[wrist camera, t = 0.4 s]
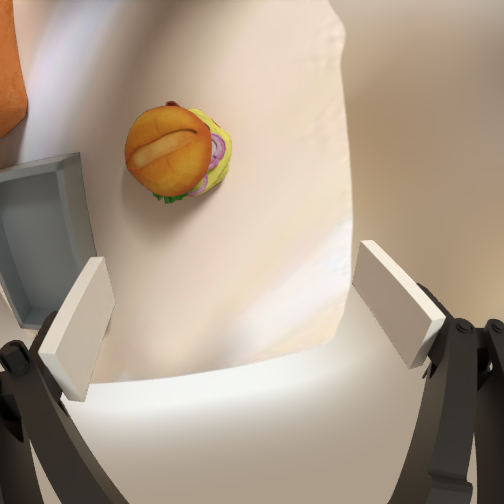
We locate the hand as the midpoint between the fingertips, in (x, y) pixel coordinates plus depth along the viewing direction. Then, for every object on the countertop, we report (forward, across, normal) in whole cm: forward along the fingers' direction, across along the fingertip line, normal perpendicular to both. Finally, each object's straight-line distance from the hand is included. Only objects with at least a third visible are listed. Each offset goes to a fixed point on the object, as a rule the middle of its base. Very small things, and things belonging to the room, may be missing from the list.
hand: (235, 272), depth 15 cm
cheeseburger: (+23, -4, +3) cm, 23 cm away
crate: (+22, -26, -8) cm, 35 cm away
